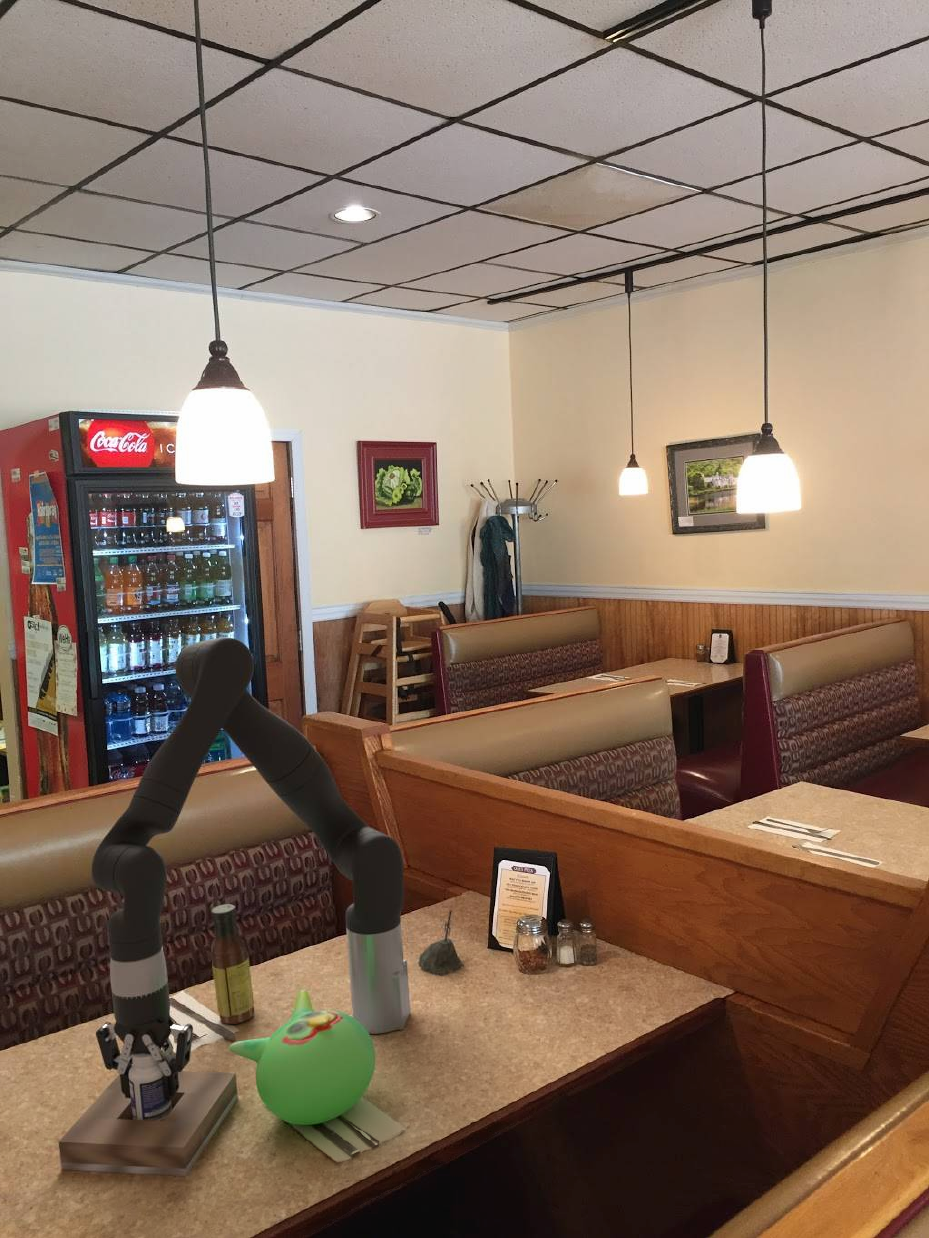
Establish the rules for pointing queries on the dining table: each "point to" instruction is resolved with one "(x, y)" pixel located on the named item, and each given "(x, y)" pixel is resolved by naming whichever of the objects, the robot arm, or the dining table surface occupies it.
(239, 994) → the sauce bottle
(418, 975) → the dining table surface
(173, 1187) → the dining table surface
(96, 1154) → the socket block
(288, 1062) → the toy bird
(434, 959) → the sword in stone
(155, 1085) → the pill bottle
